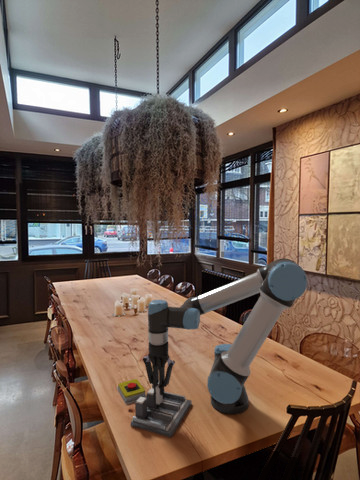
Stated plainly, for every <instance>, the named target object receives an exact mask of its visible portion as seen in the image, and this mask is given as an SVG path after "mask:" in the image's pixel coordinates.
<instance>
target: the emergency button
mask: <svg viewBox="0 0 360 480" xmlns="http://www.w3.org/2000/svg"><path fill="white" fill-rule="evenodd" d="M116 390H117V392H118V393H119V395H120V396H121V399H122V400H123V402H124V404H125V405H130V404H135V403H136V401H137V400H138V399H139V398H140V397H144V398H146V389H145V388H144V386H143V385H142V384H141V382H140V380H139V379H137V378H134V379H130V380H127V381H123V382H119V383H118V385H117V386H116Z"/></svg>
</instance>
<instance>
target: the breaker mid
mask: <svg viewBox="0 0 360 480" xmlns="http://www.w3.org/2000/svg"><path fill="white" fill-rule="evenodd" d="M145 395H146V399H147V407H150V408H154V409H156V407H157V406H158V404H156V394H154V389H153V388H152V387H151V388H150V389H149V390H148V391H147V393H145Z"/></svg>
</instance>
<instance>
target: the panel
mask: <svg viewBox="0 0 360 480" xmlns="http://www.w3.org/2000/svg"><path fill="white" fill-rule="evenodd" d="M192 402H193V401H192V399H187V398H186V395H181V394H177V393H173V392H168V391H164V394H163V401H162V402H161V403H160V405H159V404H158V406H157V407H156V409H154V408H150V407H147V410H148V415H147V416H146V418H145V419H143V418H139V417H136V416H135V415H133V416H132V420H131V421H130V426H131V427H133V428H137V429H140V430H144V431H148V432H151V433H154V434H158V435H160V436H164V437H168V438H172V437H173V436H174V434H175V432H176V430H177V428H178V427H179V426H180V424H181V422H182V420H183V419H184V417H185V416H186V414H187V413H188V411H189V410H190V407H191V405H192Z"/></svg>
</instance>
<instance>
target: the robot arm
mask: <svg viewBox="0 0 360 480" xmlns="http://www.w3.org/2000/svg"><path fill="white" fill-rule="evenodd" d="M307 287H308V277H307V274H306V272H305V270H304V268H303V267H302V266H300V265H299V264H298V263H297V262H295V261H294V260H292V259H290V258H285V257H284V258H278V259H276V260H275V259H274V261H271V262H269V263H267V264H266V265H264V266H262V267H259V268H257V269H256V272H253V273H251V274H249V275H246V276H244V277H242V278H239V279H237V280H234V281H232V282H230V283H227V284H224V285H221V286H219V287H216V288H214V289H212V290H210V291H207V292H204V293H203V294H199V295H197V296H195V297H194V296H193V297H189V298H187V299H186V300H185V301H184V302H183V303H182V305H180V307H179V306H177V307H175V306H169V303H168V301H167V300H165V299H164V300H163V299H154V300H151V301H150V302H148V305H147V323H148V328H147V329H148V330H147V331H148V334H147V335H148V340H147V341H148V354H147V355H146V356H144V357H142V362H143V363H144V365H145V370H146V374H147V375H146V376H147V380H148V382H149V384H151V385H152V384H153V385H154V394H156V404H159V405H160V403H161V402H162V401H163V396H162V395H163V394H164V392H165V387H168V385H169V384H170V380H171V375H172V371H173V368H174V365H175V364H176V361H175V360H172V359H171V358H170V355H169V328H171V329H172V328H173V329H181V330H184V329H185V330H197V329H198V328H199V327H200V323H201V316H203V315H205V314H207V313H210V312H212V311H215V310H218V309H221V308H224V307H225V306H228V305H230V304H234V303H236V302H238V301H242V300H244V299H246V298H249V297H252V296H254V295H257V294H260V296H259V297H258V298H257V299H258V300H257V301H256V303H255V304H254V306H253V308H252V309H251V311H250V313H249V314H248V316H247V318H246V319H245V321H244V323H243V325H242V326H241V328H240V330H239V332H238V333H237V335H236V336H235V339H234V340H233V342H232V343H222V344H217V345H216V346H215V347H214V351H213V353H214V360H213V363H212V366H211V369H210V373H209V376H208V377H207V391H208V392H209V394H210V404H211V406H212V407H213V408H214V410H216V411H218V412H220V413H223V414H227V415H237V414H241V413H243V412H245V411H247V410H248V408H249V405H250V404H249V401H250V400H249V395H248V393H247V389H246V387H245V383H246V381H247V380H248V379H249V377H250V375H251V369H250V368H251V367H250V365H251V364H252V363H253V361H254V359H255V357H256V356H257V354H258V353H259V351H260V349H261V348H262V346H263V345H264V342H265V341H266V339H267V338H268V336H269V334H270V333H271V331H272V330H273V328H274V326H275V324H276V323H277V321H278V320H279V318H280V317H281V314H282V313H283V312H284V310H288V309H291V308H292V307H293V305H294V303H295V301H296V300H298V299H299V298H300V297H302V296H303V295H304V294H305V291H306V289H307ZM166 364H167V368H166ZM165 368H166V371H165ZM158 383H159V384H158Z"/></svg>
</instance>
